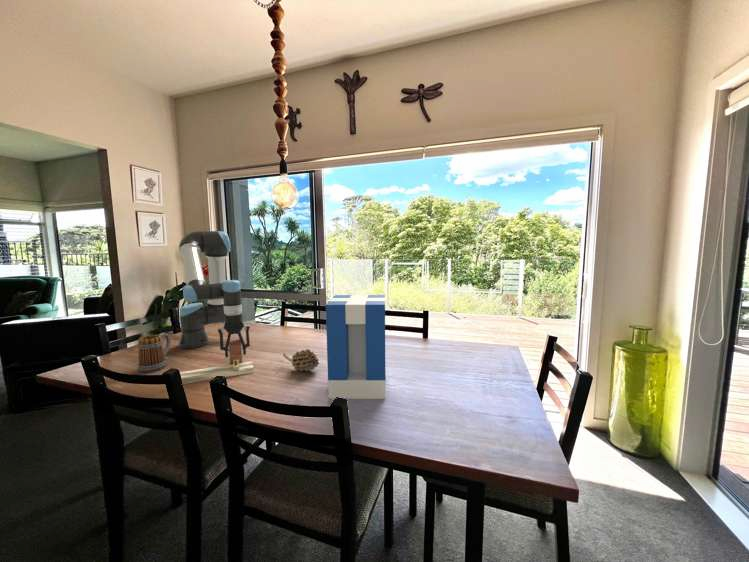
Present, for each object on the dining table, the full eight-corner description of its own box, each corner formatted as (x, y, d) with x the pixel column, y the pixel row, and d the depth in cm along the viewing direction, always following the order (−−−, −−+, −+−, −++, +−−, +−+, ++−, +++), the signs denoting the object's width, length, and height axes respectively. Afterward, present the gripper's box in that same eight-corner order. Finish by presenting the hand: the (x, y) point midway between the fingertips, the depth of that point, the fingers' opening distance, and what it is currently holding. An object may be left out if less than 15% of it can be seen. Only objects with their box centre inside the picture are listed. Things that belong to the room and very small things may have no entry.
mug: (152, 374, 139) (148, 341, 137) (132, 372, 141) (129, 340, 139) (180, 361, 154) (177, 331, 152) (162, 359, 156) (159, 330, 154)
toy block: (337, 374, 136) (335, 295, 132) (385, 374, 135) (384, 294, 131) (328, 398, 115) (325, 304, 111) (385, 398, 114) (384, 304, 110)
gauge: (230, 364, 148) (229, 340, 146) (242, 362, 150) (240, 338, 148) (230, 376, 135) (228, 349, 133) (242, 374, 137) (241, 347, 135)
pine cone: (324, 369, 141) (324, 348, 140) (310, 378, 133) (310, 355, 132) (288, 361, 152) (287, 341, 150) (273, 368, 143) (272, 347, 142)
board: (178, 376, 135) (177, 372, 135) (252, 365, 147) (252, 361, 147) (174, 385, 127) (174, 380, 127) (253, 372, 139) (253, 368, 139)
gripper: (210, 317, 137) (214, 368, 140) (254, 313, 144) (257, 362, 147) (211, 314, 144) (215, 362, 146) (253, 310, 151) (256, 356, 154)
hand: (236, 362), depth 147 cm, fingers closed on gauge, 5 cm apart
